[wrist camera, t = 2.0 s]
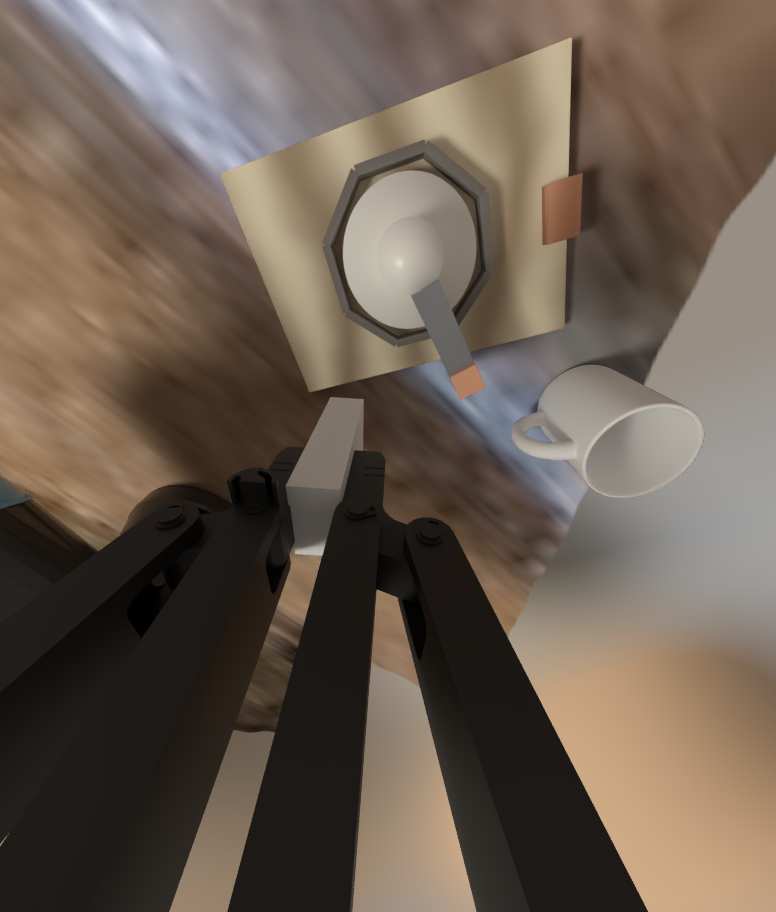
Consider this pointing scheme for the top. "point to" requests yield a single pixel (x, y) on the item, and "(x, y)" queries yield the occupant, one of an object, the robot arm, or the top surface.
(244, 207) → the board
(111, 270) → the top surface
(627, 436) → the mug
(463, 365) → the dial
